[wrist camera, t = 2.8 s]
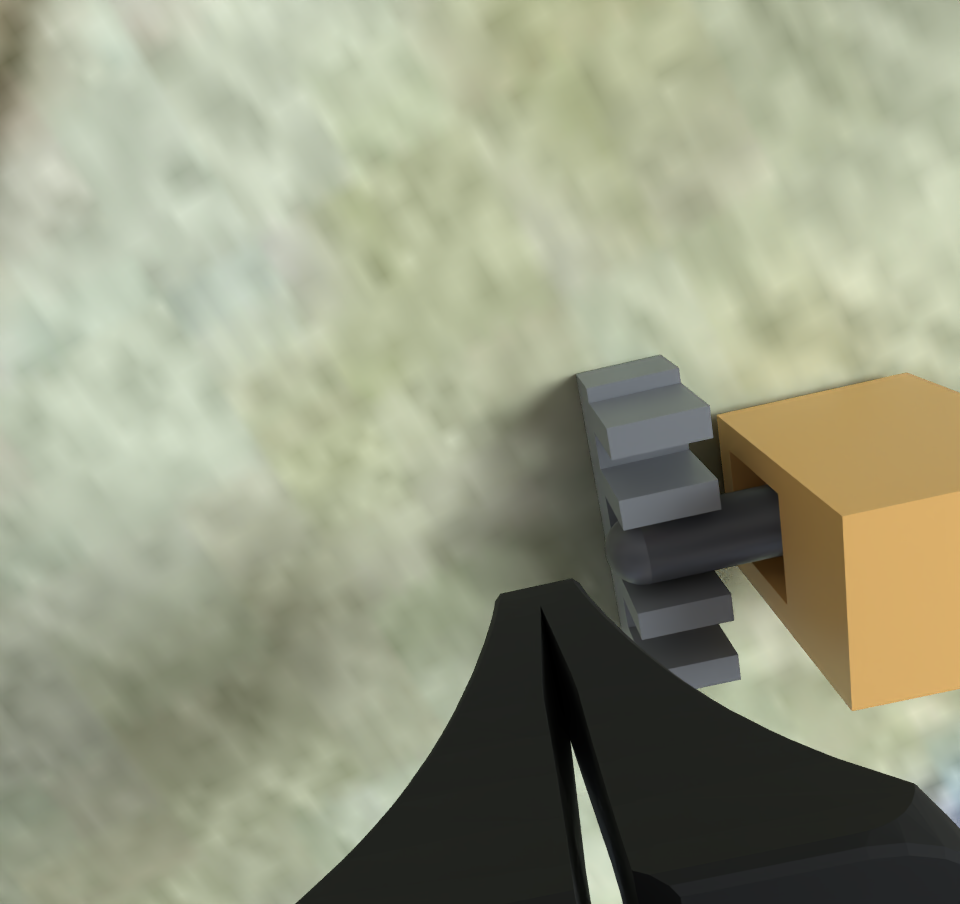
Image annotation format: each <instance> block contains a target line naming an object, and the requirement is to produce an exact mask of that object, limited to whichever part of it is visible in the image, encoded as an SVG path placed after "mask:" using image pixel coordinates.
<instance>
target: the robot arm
mask: <svg viewBox="0 0 960 904" xmlns="http://www.w3.org/2000/svg"><path fill="white" fill-rule="evenodd" d="M570 741H571V742H570ZM571 744H572V747H573V750H574V753H575V756H576V759H577V762H578V765H579V768H580V771H581V774H582V777H583V780H584V783H585V786H586V789H587V791H588V794H589V797H590V800H591V803H592V806H593V809H594V812H595V815H596V818H597V821H598V824H599V827H600V830H601V833H602V836H603V839H604V842H605V845H606V848H607V851H608V854H609V857H610V860H611V863H612V866H613V869H614V873H615V876H616V880H617V883H618V886H619V890H620V893H621V897H622V901H623V904H960V828H959V827H958V826H957V825H956V824H955V823H954V822H953V821H952V820H951V819H950V818H949V817H948V816H947V815H946V814H945V813H944V812H943V811H942V810H941V809H940V808H939V807H938V806H937V805H936V804H935V803H934V802H933V801H932V800H931V799H930V798H929V797H928V796H927V795H926V794H925V793H924V792H923V791H922V790H921V789H920V788H919V787H918V786H917V785H915V784H914V783H911V782H908V781H905V780H902V779H899V778H896V777H893V776H889V775H886V774H883V773H880V772H877V771H874V770H871V769H868V768H865V767H862V766H859V765H856V764H853V763H850V762H846V761H843V760H840V759H837V758H835V757H832V756H829V755H827V754H824V753H822V752H820V751H817V750H815V749H812V748H810V747H807V746H805V745H802V744H800V743H798V742H795V741H793V740H790V739H788V738H786V737H784V736H781V735H779V734H777V733H775V732H773V731H770V730H768V729H766V728H764V727H762V726H761V725H759V724H757V723H755V722H753V721H751V720H749V719H747V718H745V717H743V716H741V715H739V714H737V713H735V712H733V711H731V710H729V709H728V708H726V707H724V706H722V705H721V704H719V703H717V702H716V701H714V700H712V699H711V698H709V697H708V696H706V695H704V694H703V693H701V692H700V691H698V690H697V689H695V688H694V687H692V686H691V685H689V684H688V683H686V682H685V681H683V680H682V679H681V678H679V677H678V676H676V675H675V674H674V673H672V672H671V671H670V670H668V669H667V668H666V667H664V666H663V665H662V664H661V663H659V662H658V661H657V660H655V659H654V658H653V657H652V656H650V655H649V654H648V653H647V652H646V651H644V650H643V649H642V648H641V647H640V646H639V645H637V644H636V643H635V642H634V641H633V640H632V639H631V638H630V637H629V636H628V635H626V634H625V633H624V632H623V631H622V630H621V629H620V628H619V627H618V626H617V625H616V624H615V623H614V622H613V621H612V620H611V619H610V618H609V617H608V616H607V615H606V614H605V613H604V612H603V611H602V610H601V609H600V608H599V607H598V606H597V605H596V604H595V602H594V601H593V600H592V599H591V598H590V597H589V595H588V594H587V593H586V592H585V590H584V589H583V588H582V586H581V585H580V583H578V582H577V581H575V580H574V579H567V580H563V581H558V582H553V583H549V584H544V585H539V586H535V587H530V588H525V589H521V590H516V591H511V592H507V593H502V594H500V595H499V597H498V598H497V599H496V601H495V607H494V612H493V616H492V620H491V623H490V627H489V630H488V633H487V636H486V639H485V642H484V645H483V648H482V650H481V653H480V656H479V658H478V661H477V663H476V666H475V669H474V671H473V673H472V676H471V678H470V680H469V682H468V684H467V686H466V689H465V691H464V693H463V695H462V697H461V699H460V701H459V703H458V705H457V708H456V710H455V711H454V713H453V715H452V717H451V719H450V721H449V723H448V724H447V726H446V728H445V730H444V731H443V733H442V735H441V736H440V738H439V740H438V741H437V743H436V745H435V746H434V748H433V749H432V751H431V753H430V754H429V756H428V757H427V759H426V760H425V762H424V763H423V765H422V766H421V767H420V769H419V770H418V772H417V773H416V775H415V776H414V777H413V779H412V780H411V782H410V783H409V785H408V786H407V787H406V789H405V790H404V791H403V793H402V794H401V795H400V797H399V798H398V799H397V800H396V802H395V803H394V804H393V805H392V807H391V808H390V809H389V810H388V811H387V813H386V814H385V815H384V816H383V817H382V818H381V819H380V821H379V822H378V823H377V824H376V825H375V826H374V828H373V829H372V830H371V831H370V832H369V833H368V834H367V835H366V836H365V837H364V838H363V839H362V841H361V842H360V843H359V844H358V845H357V846H356V847H355V848H354V849H353V850H352V851H351V852H350V853H349V854H348V855H347V856H346V857H345V858H344V859H343V860H342V861H341V862H340V863H339V864H338V865H337V866H336V867H335V868H334V869H332V870H331V871H330V872H329V873H328V874H327V875H326V876H325V877H324V878H323V879H322V880H321V881H320V882H319V883H317V884H316V885H315V886H314V887H313V888H312V889H311V890H310V891H309V892H308V893H307V894H306V895H305V896H303V897H302V898H301V899H300V900H299V901H298V902H297V903H296V904H591V901H590V894H589V888H588V882H587V875H586V869H585V860H584V852H583V843H582V835H581V826H580V818H579V809H578V801H577V792H576V784H575V775H574V767H573V759H572V750H571Z"/></svg>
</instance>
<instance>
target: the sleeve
mask: <svg viewBox="0 0 960 904" xmlns="http://www.w3.org/2000/svg"><path fill="white" fill-rule="evenodd" d="M717 424H718V433H719V442H720V451H721V460H722V469H723V478H724V487H725V493H730V492H734V491H739V490H743V489H748V488H753V487H757V486H762V485H766V484H768V485H769V486H770V487H771V488H772V489H773V490H774V491H776V492H777V493H778V498H779V510H780V522H781V534H782V546H783V556H779V557H774V558H769V559H765V560H760V561H755V562H751V563H746V564H741V565H737V566H738V567H739V568H740V570H741V571H742V572H743V573H744V575H745V576H746V577H747V578H748V580H749V581H750V582H751V584H752V585H753V586H754V587H755V589H756V590H757V591H758V592H759V594H760V595H761V596H762V597H763V599H764V600H765V601H766V603H767V604H768V605H769V606H770V608H771V609H772V610H773V611H774V613H775V614H776V615H777V617H778V618H779V619H780V620H781V622H782V623H783V624H784V625H785V627H786V628H787V629H788V630H789V632H790V633H791V634H792V636H793V637H794V638H795V639H796V641H797V642H798V643H799V644H800V646H801V647H802V648H803V649H804V651H805V652H806V653H807V655H808V656H809V657H810V658H811V660H812V661H813V662H814V663H815V665H816V666H817V667H818V668H819V670H820V671H821V672H822V674H823V675H824V676H825V677H826V679H827V680H828V681H829V682H830V684H831V685H832V686H833V688H834V689H835V690H836V691H837V693H838V694H839V695H840V696H841V698H842V699H843V700H844V701H845V703H846V704H847V705H848V707H849V708H850V709H851V710H852V711H855V710H860V709H865V708H869V707H874V706H879V705H884V704H889V703H894V702H898V701H903V700H908V699H913V698H918V697H922V696H927V695H932V694H937V693H942V692H947V691H951V690H956V689H960V393H959V392H956V391H954V390H951V389H948V388H946V387H943V386H941V385H938V384H935V383H933V382H930V381H927V380H925V379H922V378H920V377H917V376H914V375H912V374H909V373H902V374H898V375H893V376H889V377H884V378H880V379H875V380H871V381H866V382H862V383H857V384H853V385H848V386H844V387H839V388H835V389H830V390H826V391H821V392H817V393H812V394H808V395H803V396H799V397H794V398H790V399H785V400H781V401H776V402H772V403H767V404H763V405H758V406H754V407H749V408H745V409H740V410H736V411H732V412H727V413H723V414H718V415H717Z"/></svg>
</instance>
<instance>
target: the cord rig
mask: <svg viewBox="0 0 960 904" xmlns="http://www.w3.org/2000/svg"><path fill="white" fill-rule="evenodd" d="M576 378H577V383H578V389H579V394H580V400H581V406H582V411H583V417H584V422H585V428H586V434H587V439H588V445H589V450H590V456H591V462H592V467H593V473H594V478H595V484H596V489H597V495H598V501H599V506H600V512H601V517H602V523H603V529H604V534H605V540H606V541H605V555H606V559H607V562H608V564H609V565H610V568H611V573H612V579H613V585H614V590H615V596H616V601H617V607H618V613H619V618H620V624H621V629H622V631H623V632H624V633H625V634H626V635H628V636H629V637H630V638H631V639H632V640H633V641H634V642H635V643H636V644H637V645H639V646H640V647H641V648H642V649H643V650H644V651H646V652H647V653H648V654H649V655H650V656H652V657H653V658H654V659H655V660H657V661H658V662H659V663H661V664H662V665H663V666H664V667H666V668H667V669H668V670H670V671H671V672H672V673H674V674H675V675H676V676H678V677H679V678H681V679H682V680H683V681H685V682H686V683H688V684H689V685H691V686H692V687H694V688H695V689H697V688H702V687H707V686H712V685H716V684H721V683H726V682H731V681H735V680H740V679H741V676H740V667H739V659H738V654H737V652H736V651H735V649H734V647H733V646H732V644H731V643H730V641H729V640H728V638H727V636H726V635H725V633H724V632H723V630H722V629H721V627H720V625H719V624H720V623H724V622H729V621H734V615H733V606H732V597H731V593H730V592H729V590H728V589H727V587H726V586H725V585H724V583H723V582H722V581H721V579H720V578H719V576H718V575H717V574H716V572H715V571H714V570H718V569H723V568H727V567H732V566H737V565H741V564H746V563H751V562H755V561H760V560H765V559H769V558H774V557H779V556H783V546H782V534H781V522H780V510H779V498H778V493H777V492H776V491H774V490H773V489H772V488H771V487H770V486H769V485H768V484H766V485H762V486H757V487H753V488H748V489H743V490H739V491H734V492H730V493H725V494H721V495H720V492H719V484H718V479H717V478H716V477H715V476H714V475H713V474H712V473H711V472H710V471H709V469H708V468H707V467H706V466H705V465H704V464H703V463H702V462H701V461H700V460H699V459H698V458H697V457H696V456H695V455H694V454H693V453H692V452H691V451H690V450H689V443H692V442H697V441H702V440H706V439H711V438H713V431H712V422H711V414H710V405H708V404H707V403H706V402H704V401H703V400H702V399H701V398H699V397H698V396H697V395H696V394H694V393H693V392H692V391H691V390H689V389H688V388H687V387H686V386H684V385H683V384H682V383H681V381H680V373H679V368H678V367H677V366H676V365H674V364H673V363H672V362H670V361H669V360H668V359H666V358H665V357H663V356H662V355H658V356H653V357H649V358H645V359H640V360H636V361H631V362H627V363H622V364H618V365H614V366H609V367H605V368H600V369H596V370H591V371H587V372H583V373H578V374H576Z"/></svg>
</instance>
